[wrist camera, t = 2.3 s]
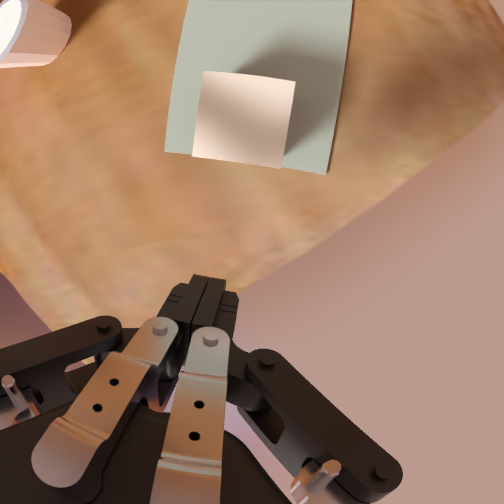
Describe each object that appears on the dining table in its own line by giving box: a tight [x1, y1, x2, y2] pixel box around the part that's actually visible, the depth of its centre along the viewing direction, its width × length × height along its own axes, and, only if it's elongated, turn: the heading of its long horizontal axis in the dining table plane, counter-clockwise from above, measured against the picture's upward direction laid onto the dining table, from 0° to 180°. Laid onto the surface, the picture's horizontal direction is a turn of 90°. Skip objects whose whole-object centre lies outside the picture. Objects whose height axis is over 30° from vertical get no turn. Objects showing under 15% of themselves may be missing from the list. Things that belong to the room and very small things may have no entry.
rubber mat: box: [164, 0, 352, 175], centre depth 17 cm, size 18×12×1 cm, turn 172°
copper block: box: [192, 71, 296, 169], centre depth 17 cm, size 5×5×5 cm
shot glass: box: [0, 0, 72, 68], centre depth 13 cm, size 7×7×7 cm
